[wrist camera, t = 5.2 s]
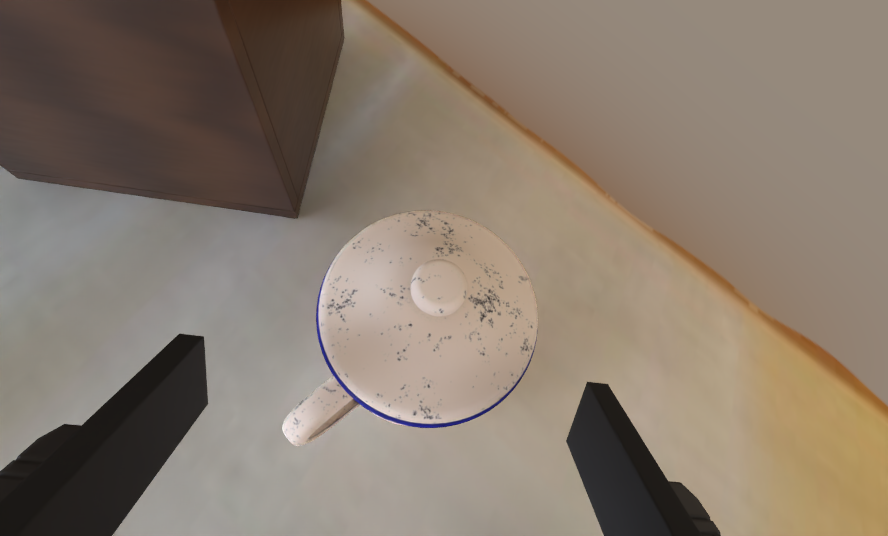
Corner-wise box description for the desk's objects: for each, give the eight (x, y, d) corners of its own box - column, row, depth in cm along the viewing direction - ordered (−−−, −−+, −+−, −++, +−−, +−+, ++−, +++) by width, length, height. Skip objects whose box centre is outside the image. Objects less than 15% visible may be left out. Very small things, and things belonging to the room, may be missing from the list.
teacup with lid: (424, 252, 27) (452, 132, 17) (519, 359, 25) (619, 302, 15) (260, 371, 23) (156, 315, 12) (360, 510, 21) (339, 583, 11)
